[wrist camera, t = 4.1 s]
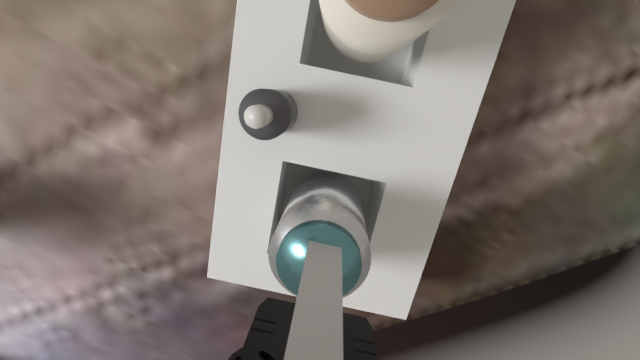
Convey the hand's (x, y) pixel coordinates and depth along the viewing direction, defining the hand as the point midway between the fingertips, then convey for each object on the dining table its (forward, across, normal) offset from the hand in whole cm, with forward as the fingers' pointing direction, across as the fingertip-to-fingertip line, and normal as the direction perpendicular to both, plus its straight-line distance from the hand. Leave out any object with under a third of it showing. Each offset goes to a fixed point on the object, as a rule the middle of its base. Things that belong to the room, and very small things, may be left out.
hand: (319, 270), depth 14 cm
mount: (+10, 0, +6) cm, 12 cm away
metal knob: (+8, 0, 0) cm, 8 cm away
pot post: (+5, -4, +6) cm, 9 cm away
